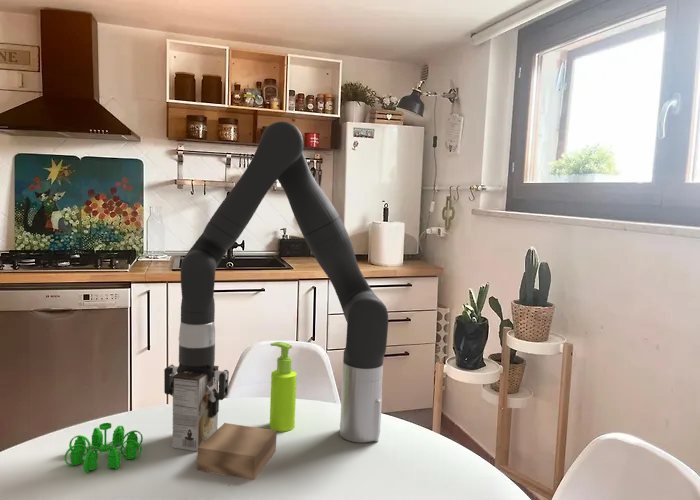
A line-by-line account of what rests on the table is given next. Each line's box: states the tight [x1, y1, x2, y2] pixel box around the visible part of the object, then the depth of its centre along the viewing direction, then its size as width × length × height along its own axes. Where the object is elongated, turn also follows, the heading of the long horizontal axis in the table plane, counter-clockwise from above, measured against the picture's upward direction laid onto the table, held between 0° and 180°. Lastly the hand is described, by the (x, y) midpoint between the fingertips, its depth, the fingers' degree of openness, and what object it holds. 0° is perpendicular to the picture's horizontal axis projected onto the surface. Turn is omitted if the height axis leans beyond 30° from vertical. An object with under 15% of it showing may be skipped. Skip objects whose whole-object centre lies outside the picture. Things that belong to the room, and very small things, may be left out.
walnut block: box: [196, 422, 278, 481], centre depth 110 cm, size 12×12×5 cm
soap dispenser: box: [269, 341, 297, 433], centre depth 126 cm, size 6×7×20 cm
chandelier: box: [64, 422, 144, 474], centre depth 109 cm, size 15×15×7 cm
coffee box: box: [172, 365, 219, 452], centre depth 117 cm, size 9×6×16 cm
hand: (195, 414), depth 117 cm, fingers open, 7 cm apart
